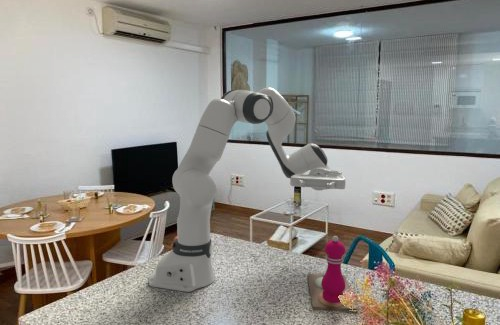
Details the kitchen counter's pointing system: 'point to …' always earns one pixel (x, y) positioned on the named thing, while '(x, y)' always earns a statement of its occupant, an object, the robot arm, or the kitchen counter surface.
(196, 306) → the kitchen counter surface
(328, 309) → the colour board
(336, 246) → the pepper mill
